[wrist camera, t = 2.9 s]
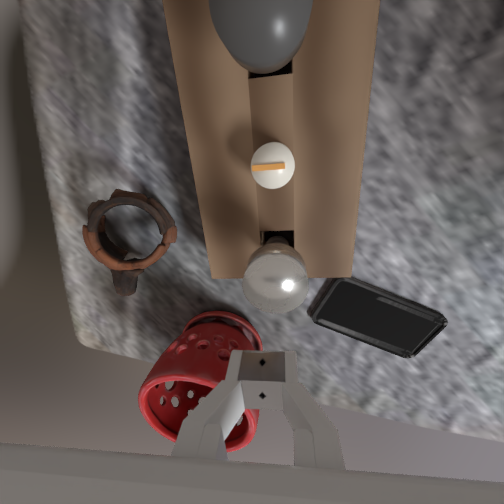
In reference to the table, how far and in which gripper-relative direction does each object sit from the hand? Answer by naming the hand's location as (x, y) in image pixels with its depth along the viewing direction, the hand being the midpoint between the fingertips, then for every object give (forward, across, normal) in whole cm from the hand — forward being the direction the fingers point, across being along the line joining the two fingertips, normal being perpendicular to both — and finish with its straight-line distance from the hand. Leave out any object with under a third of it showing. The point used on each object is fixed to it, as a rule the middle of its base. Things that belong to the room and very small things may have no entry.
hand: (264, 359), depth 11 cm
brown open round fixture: (+19, +16, 0) cm, 25 cm away
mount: (+18, -1, -8) cm, 19 cm away
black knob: (+13, -1, -15) cm, 20 cm away
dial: (+13, 0, -8) cm, 15 cm away
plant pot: (+18, +8, +16) cm, 26 cm away
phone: (+18, -13, +12) cm, 26 cm away
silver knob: (+13, -1, 0) cm, 13 cm away
